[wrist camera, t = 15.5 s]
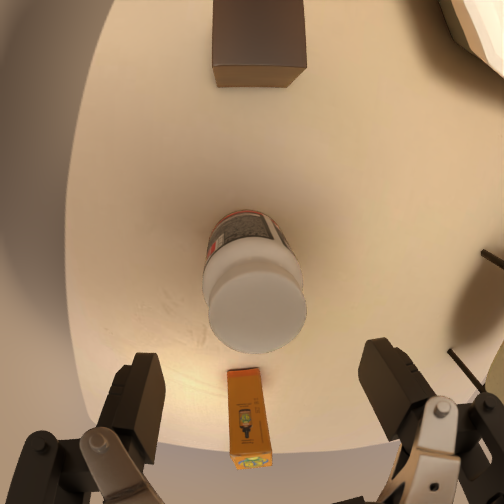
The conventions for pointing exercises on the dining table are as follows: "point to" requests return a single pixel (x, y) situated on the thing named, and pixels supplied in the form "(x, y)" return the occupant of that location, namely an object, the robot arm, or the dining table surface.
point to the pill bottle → (252, 284)
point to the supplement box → (248, 420)
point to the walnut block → (258, 42)
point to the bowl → (478, 28)
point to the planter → (500, 373)
